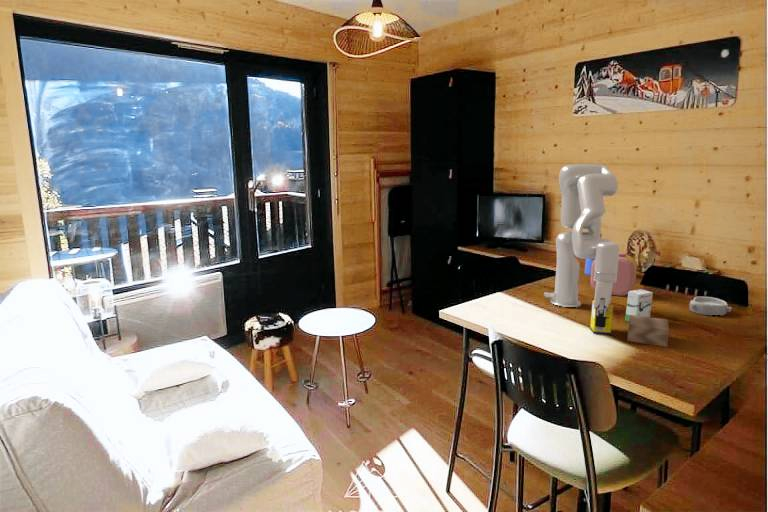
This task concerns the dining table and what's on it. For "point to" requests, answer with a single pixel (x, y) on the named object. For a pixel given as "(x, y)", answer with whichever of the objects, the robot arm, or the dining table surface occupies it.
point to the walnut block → (648, 330)
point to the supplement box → (607, 325)
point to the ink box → (638, 303)
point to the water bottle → (589, 264)
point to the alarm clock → (621, 275)
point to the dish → (709, 306)
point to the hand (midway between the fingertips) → (601, 322)
